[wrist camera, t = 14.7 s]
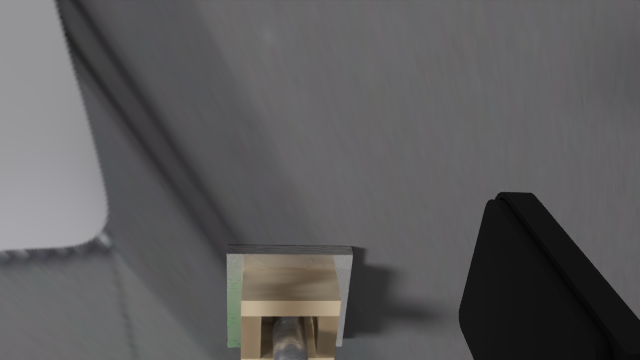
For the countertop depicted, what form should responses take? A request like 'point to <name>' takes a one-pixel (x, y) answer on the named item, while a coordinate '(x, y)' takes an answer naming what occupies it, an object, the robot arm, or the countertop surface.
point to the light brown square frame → (289, 308)
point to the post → (286, 329)
